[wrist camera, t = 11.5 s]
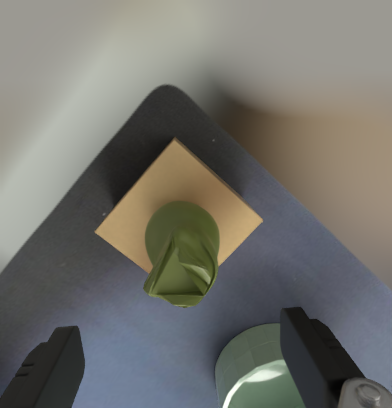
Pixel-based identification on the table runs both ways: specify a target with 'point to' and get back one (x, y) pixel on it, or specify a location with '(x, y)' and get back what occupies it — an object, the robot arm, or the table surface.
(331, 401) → the robot arm
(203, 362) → the table surface
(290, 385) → the pot
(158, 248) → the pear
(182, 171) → the block
